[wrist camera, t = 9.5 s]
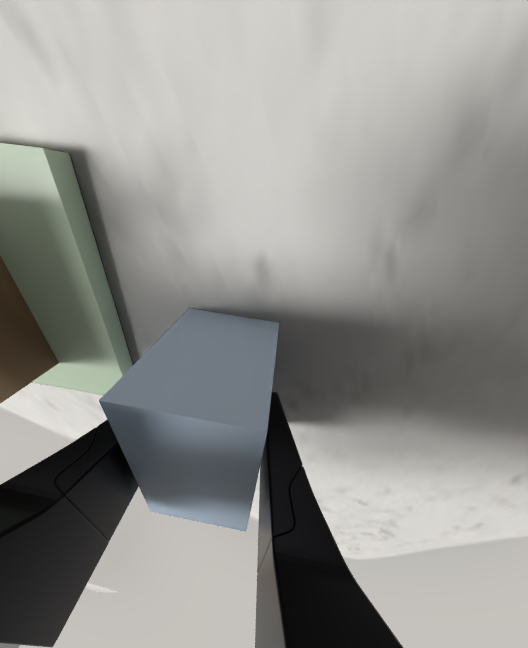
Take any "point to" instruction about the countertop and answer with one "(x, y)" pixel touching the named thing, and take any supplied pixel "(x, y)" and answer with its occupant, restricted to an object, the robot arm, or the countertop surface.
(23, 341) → the walnut brick
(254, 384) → the slate brick
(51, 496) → the robot arm
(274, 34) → the countertop surface
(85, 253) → the baseplate
